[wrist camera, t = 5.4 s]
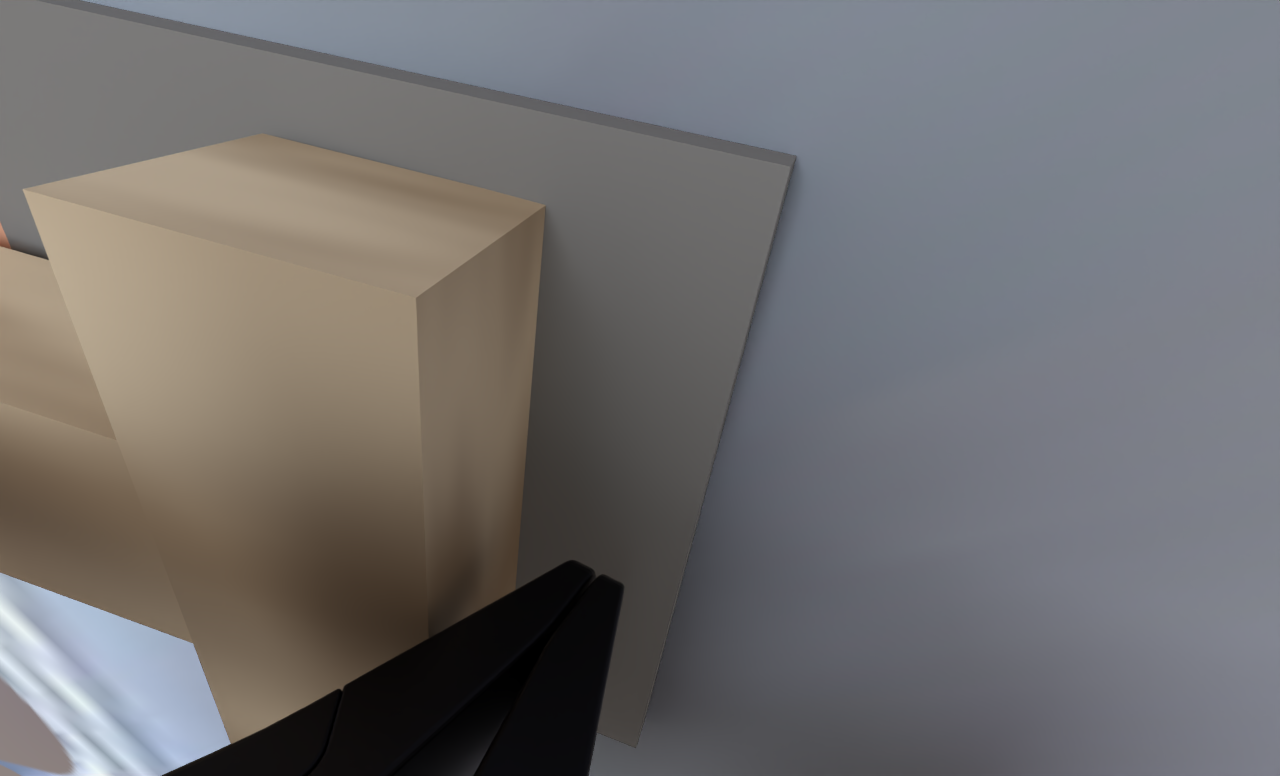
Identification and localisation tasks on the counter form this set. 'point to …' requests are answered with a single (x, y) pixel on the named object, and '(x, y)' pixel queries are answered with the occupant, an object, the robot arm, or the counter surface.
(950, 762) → the counter surface
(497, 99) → the mat
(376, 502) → the t block
